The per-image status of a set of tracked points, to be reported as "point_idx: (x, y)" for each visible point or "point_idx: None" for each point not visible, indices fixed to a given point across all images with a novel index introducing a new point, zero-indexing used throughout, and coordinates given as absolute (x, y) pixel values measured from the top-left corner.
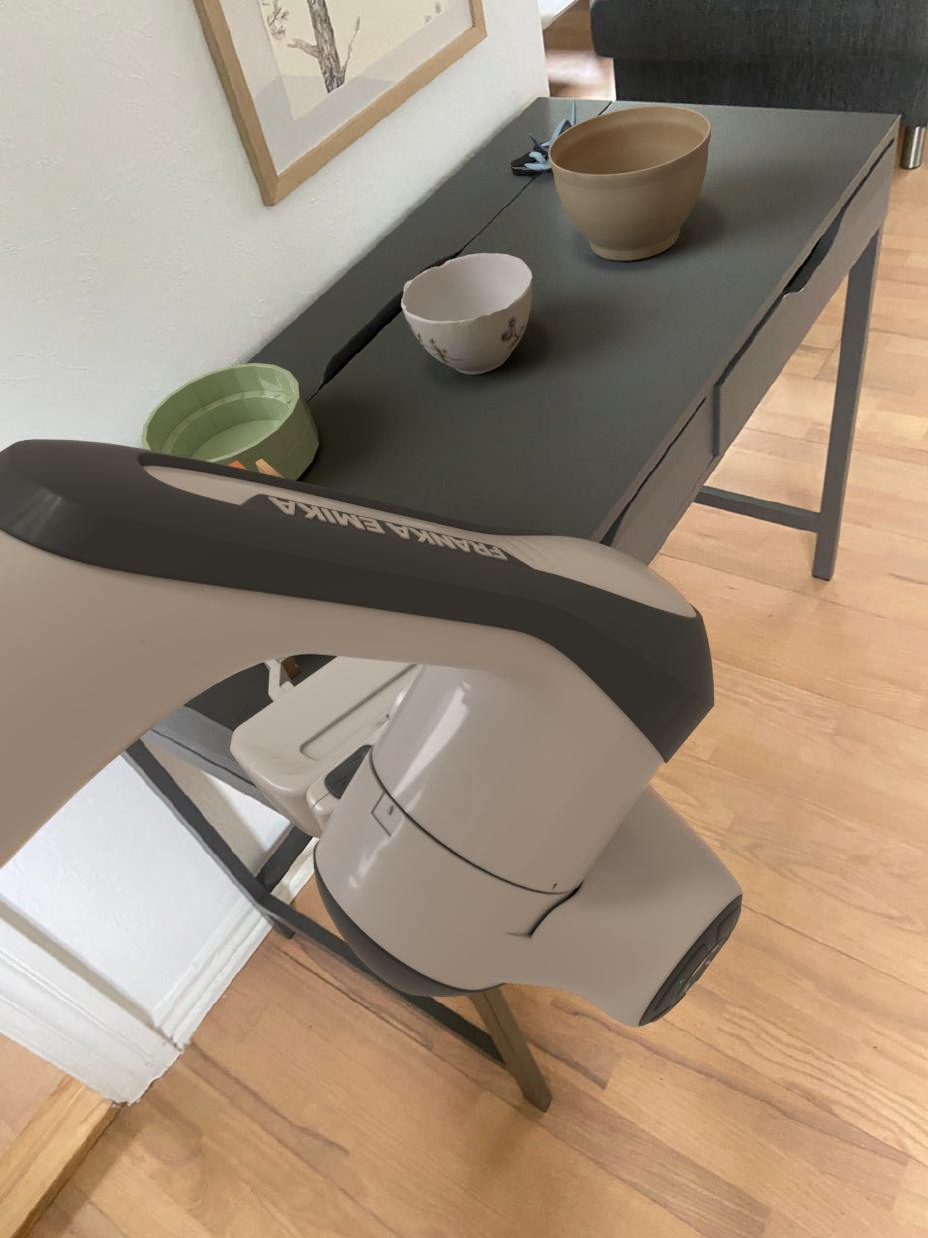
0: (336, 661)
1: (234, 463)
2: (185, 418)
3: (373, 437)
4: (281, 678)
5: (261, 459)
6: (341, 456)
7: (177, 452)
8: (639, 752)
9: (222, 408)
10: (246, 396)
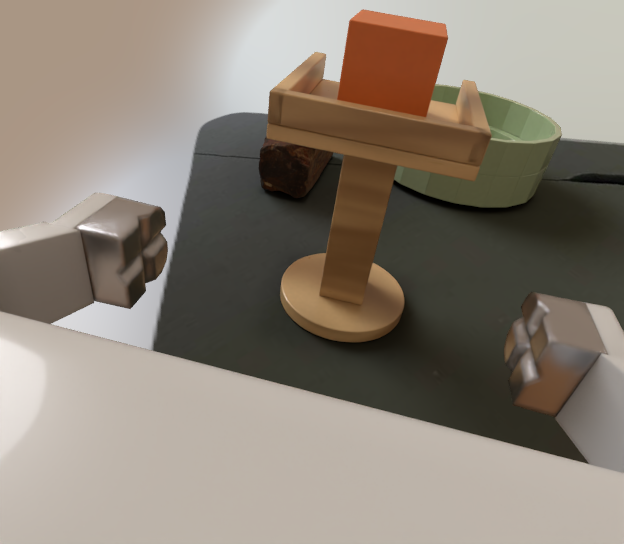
0: (64, 348)
1: (438, 23)
2: None
3: (582, 236)
4: (18, 257)
5: (473, 82)
6: (536, 225)
7: None
8: None
9: None
10: (500, 132)
